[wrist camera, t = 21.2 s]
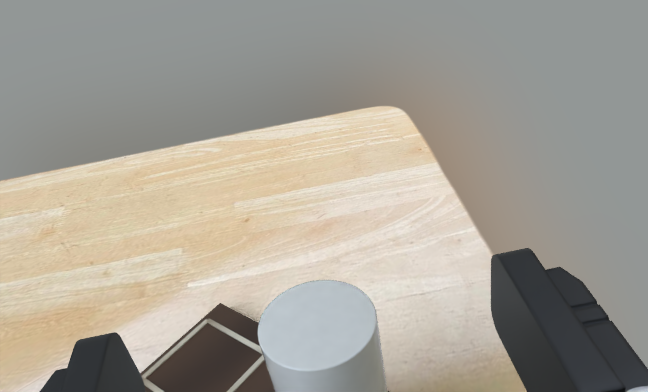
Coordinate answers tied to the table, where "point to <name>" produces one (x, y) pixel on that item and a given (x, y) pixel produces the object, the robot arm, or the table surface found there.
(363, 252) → the table surface
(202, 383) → the board
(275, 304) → the tall white cylinder
